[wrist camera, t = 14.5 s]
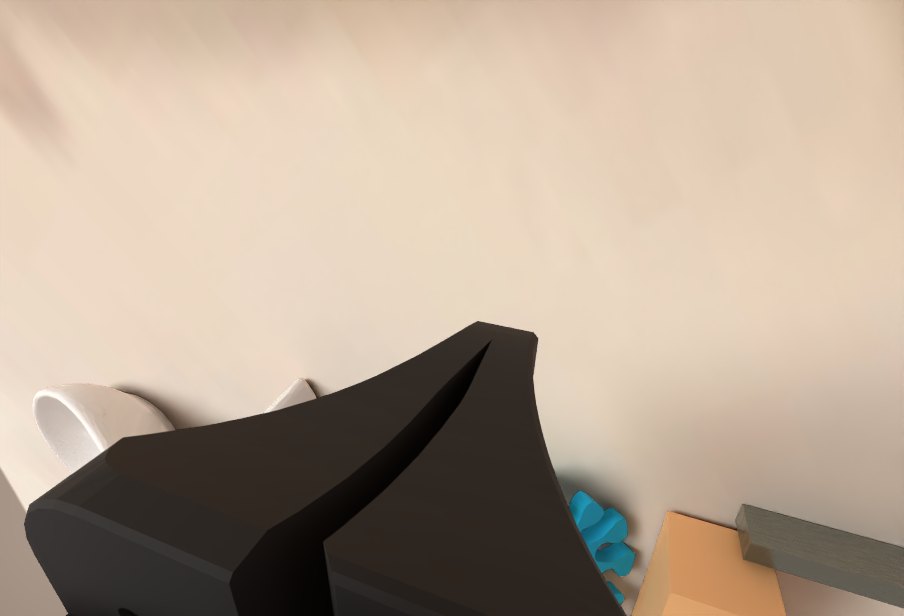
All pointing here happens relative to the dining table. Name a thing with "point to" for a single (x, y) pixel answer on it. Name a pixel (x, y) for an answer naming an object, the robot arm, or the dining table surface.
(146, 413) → the spoon rest
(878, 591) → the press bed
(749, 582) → the press ram
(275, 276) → the dining table surface
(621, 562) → the gear
